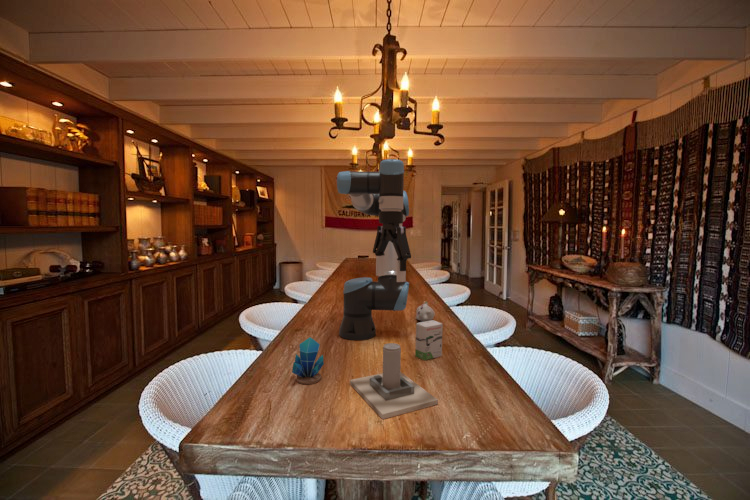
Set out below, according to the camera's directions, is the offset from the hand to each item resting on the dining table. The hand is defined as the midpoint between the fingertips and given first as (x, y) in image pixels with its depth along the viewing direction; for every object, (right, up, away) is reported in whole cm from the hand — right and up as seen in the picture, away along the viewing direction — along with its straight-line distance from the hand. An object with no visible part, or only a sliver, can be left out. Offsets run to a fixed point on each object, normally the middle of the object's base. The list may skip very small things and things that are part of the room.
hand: (390, 278), depth 110 cm
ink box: (+14, -28, +12) cm, 34 cm away
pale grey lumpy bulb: (+19, -25, +55) cm, 64 cm away
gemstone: (-24, -29, -8) cm, 39 cm away
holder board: (0, -30, -16) cm, 34 cm away
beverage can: (0, -29, -16) cm, 33 cm away
